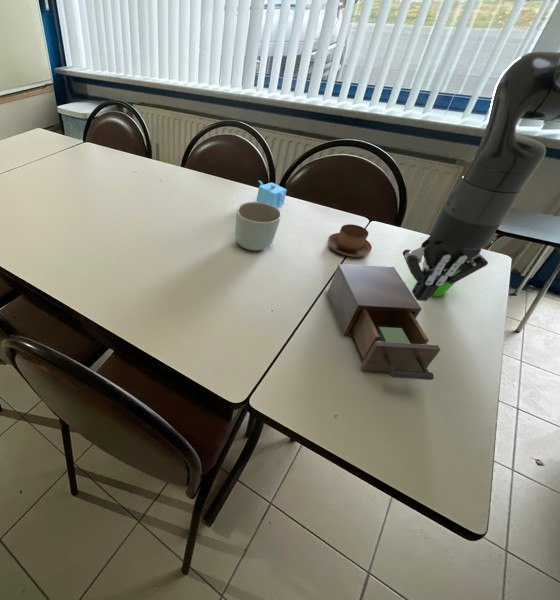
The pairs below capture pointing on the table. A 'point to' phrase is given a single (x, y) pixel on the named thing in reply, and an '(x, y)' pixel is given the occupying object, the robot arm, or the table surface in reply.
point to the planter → (256, 225)
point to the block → (392, 335)
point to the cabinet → (367, 293)
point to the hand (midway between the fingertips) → (419, 297)
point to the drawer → (394, 344)
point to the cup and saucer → (350, 241)
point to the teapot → (271, 194)
